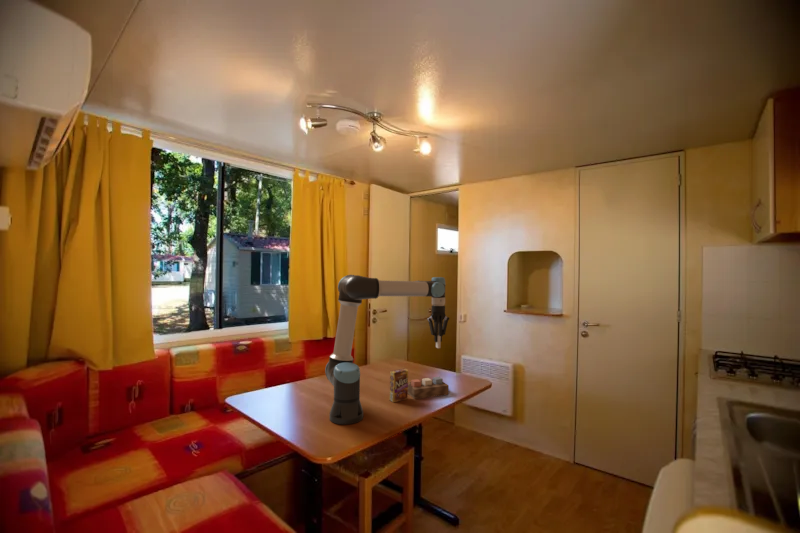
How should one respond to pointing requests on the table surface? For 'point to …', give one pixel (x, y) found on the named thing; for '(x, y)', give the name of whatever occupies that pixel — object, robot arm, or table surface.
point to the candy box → (398, 385)
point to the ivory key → (426, 381)
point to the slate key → (437, 380)
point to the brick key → (416, 383)
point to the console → (428, 390)
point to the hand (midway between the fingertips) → (438, 347)
